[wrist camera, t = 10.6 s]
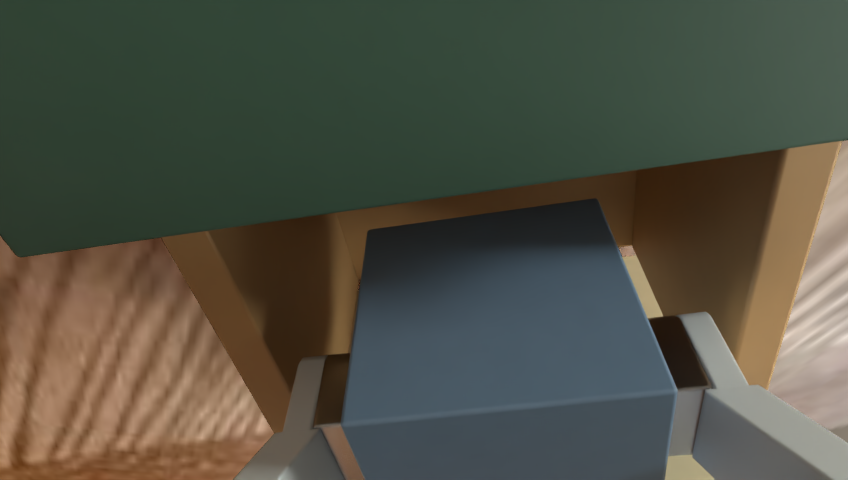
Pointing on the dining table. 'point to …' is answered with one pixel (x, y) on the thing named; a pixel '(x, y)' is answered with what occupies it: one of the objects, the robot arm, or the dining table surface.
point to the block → (505, 353)
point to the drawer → (617, 194)
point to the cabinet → (382, 102)
